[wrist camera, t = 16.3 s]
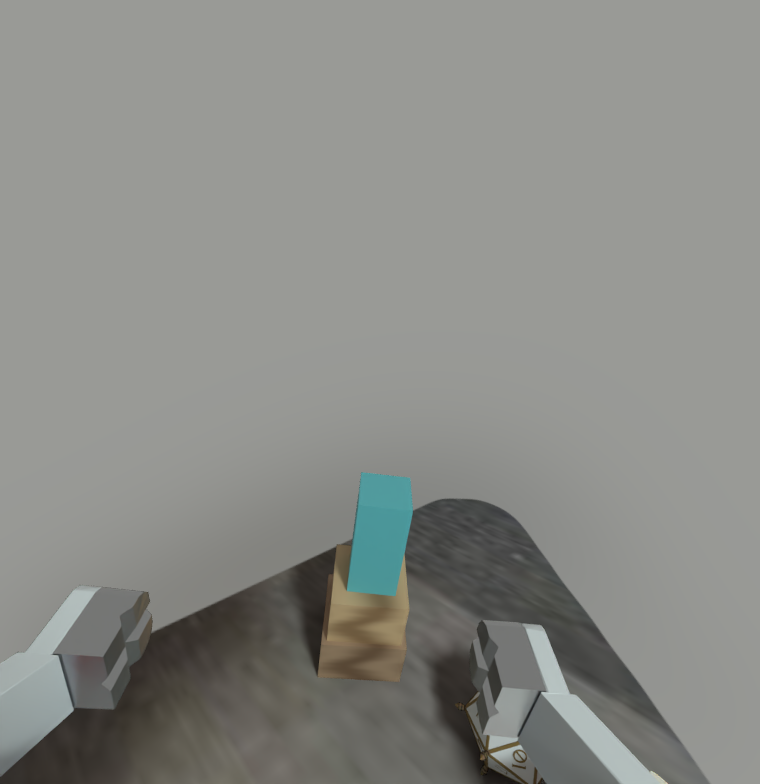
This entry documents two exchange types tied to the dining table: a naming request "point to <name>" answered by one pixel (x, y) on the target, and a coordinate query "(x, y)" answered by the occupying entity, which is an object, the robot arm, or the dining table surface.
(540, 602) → the dining table surface
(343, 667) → the walnut base block
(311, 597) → the dining table surface
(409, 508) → the teal pillar
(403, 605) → the oak top block
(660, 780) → the stack of blocks
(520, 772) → the game die
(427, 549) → the dining table surface
